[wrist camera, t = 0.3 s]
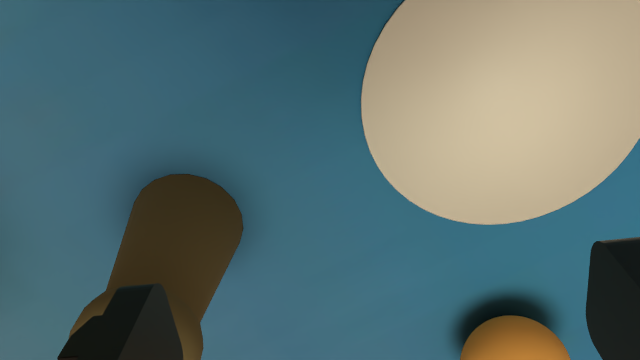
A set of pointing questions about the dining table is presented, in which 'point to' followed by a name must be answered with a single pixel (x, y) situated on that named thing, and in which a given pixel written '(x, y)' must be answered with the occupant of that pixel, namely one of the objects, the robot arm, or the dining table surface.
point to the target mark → (502, 103)
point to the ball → (513, 341)
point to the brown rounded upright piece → (176, 250)
